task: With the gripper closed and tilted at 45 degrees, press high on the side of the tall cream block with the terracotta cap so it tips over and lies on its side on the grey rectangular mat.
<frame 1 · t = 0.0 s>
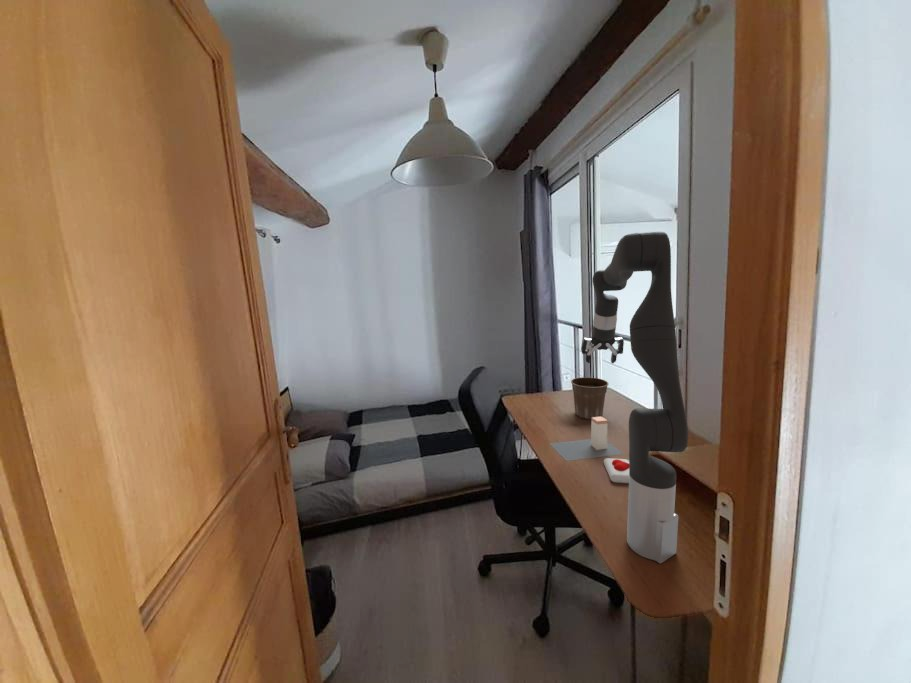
hand: (600, 362, 131), 31 cm above the table, tool tilted 20°, fingers open, 8 cm apart
cream block: (598, 446, 129), point 1 cm above the table, touching grey rectangular mat
grey rectangular mat: (585, 450, 129), on the table
icon: (623, 475, 112), on the table
plant pot: (588, 415, 162), on the table
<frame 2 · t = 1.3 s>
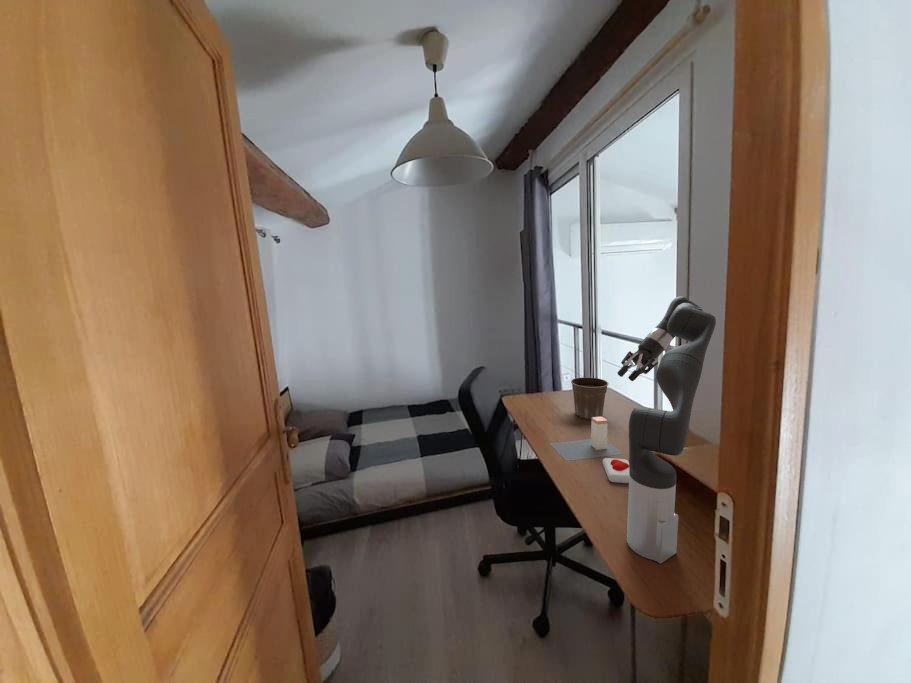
hand: (624, 377, 127), 27 cm above the table, tool tilted 45°, fingers open, 5 cm apart
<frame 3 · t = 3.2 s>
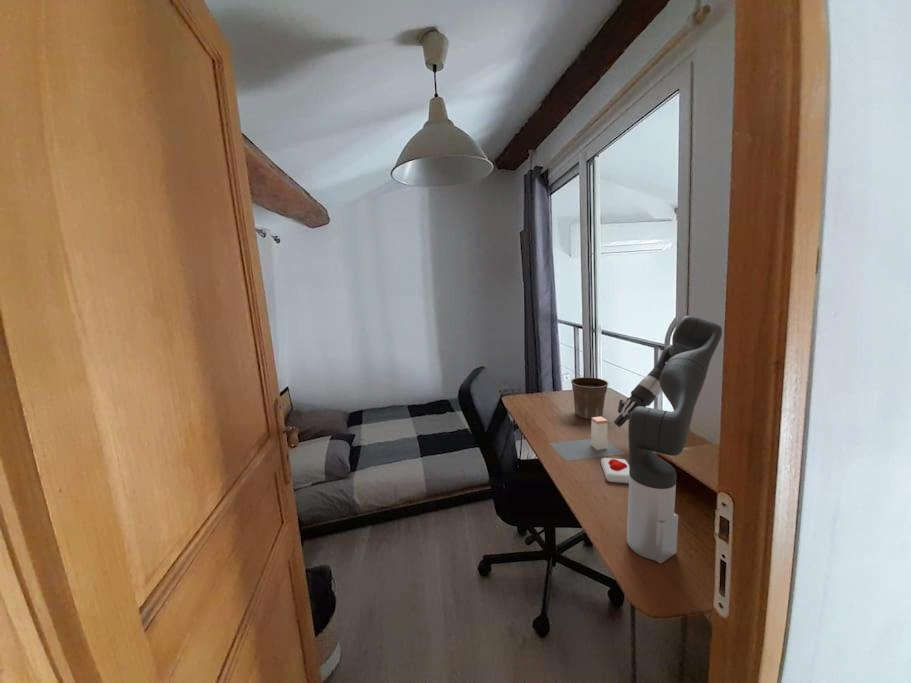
hand: (616, 425, 129), 8 cm above the table, tool tilted 45°, fingers closed
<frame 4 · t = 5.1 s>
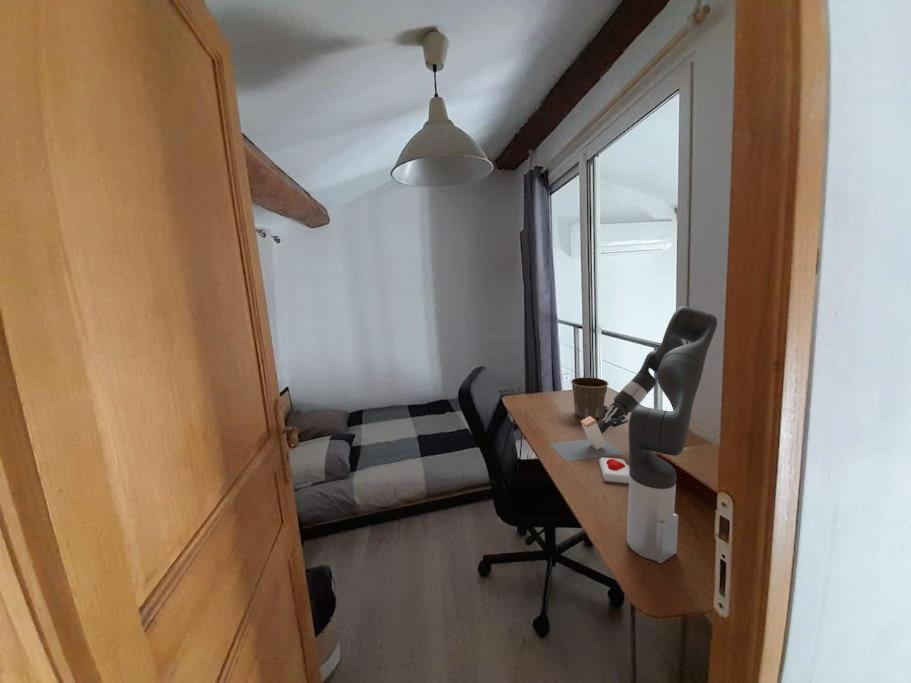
hand: (599, 431, 128), 7 cm above the table, tool tilted 45°, fingers closed
cream block: (598, 444, 129), point 1 cm above the table, tilted 24°, touching grey rectangular mat
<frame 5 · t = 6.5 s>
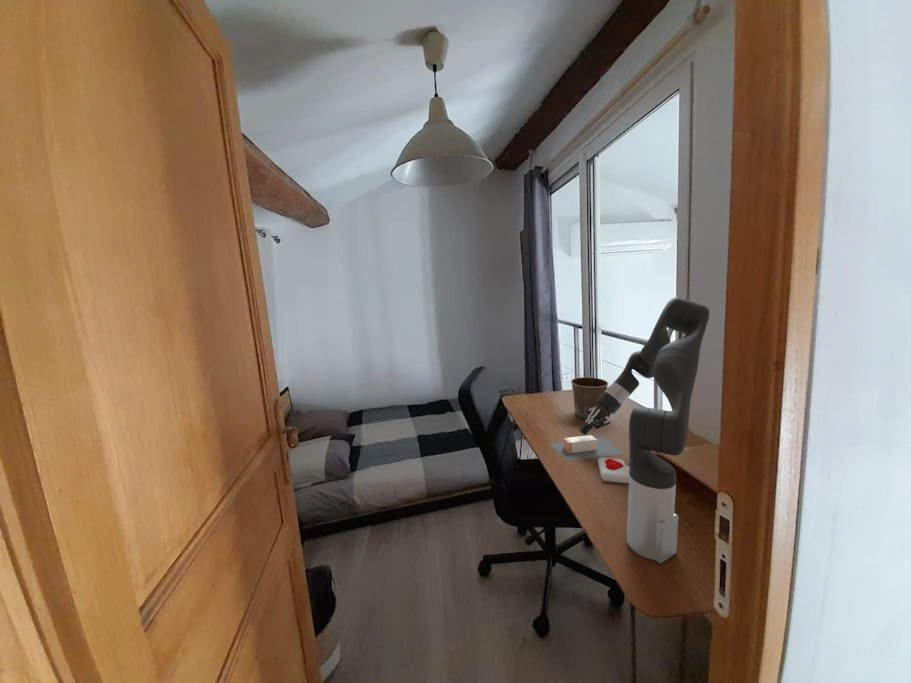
hand: (581, 432, 127), 7 cm above the table, tool tilted 45°, fingers closed
cream block: (593, 442, 129), point 3 cm above the table, tilted 90°, touching grey rectangular mat
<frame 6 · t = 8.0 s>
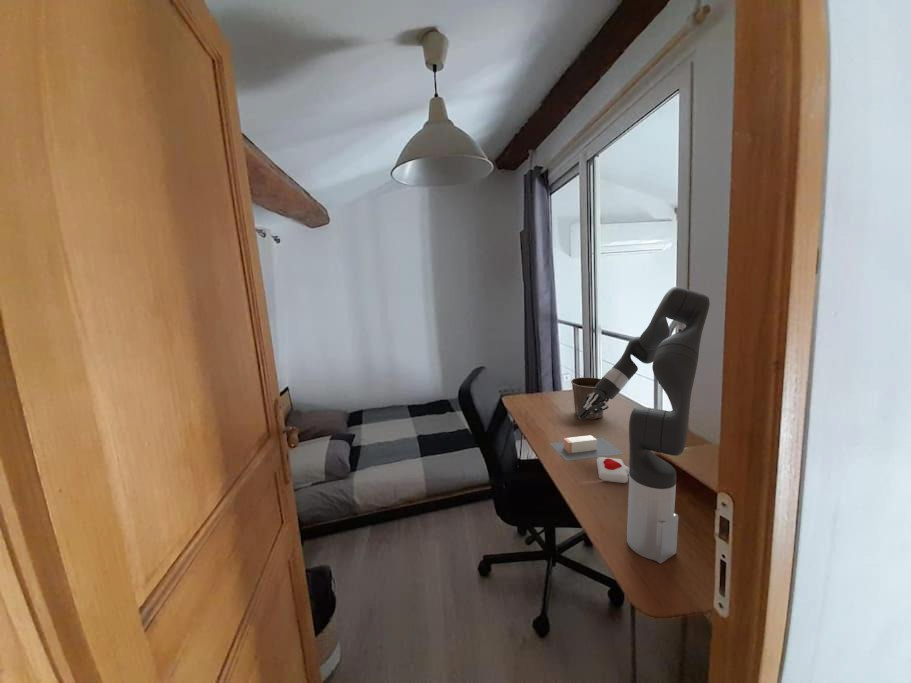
hand: (580, 418, 126), 13 cm above the table, tool tilted 45°, fingers closed
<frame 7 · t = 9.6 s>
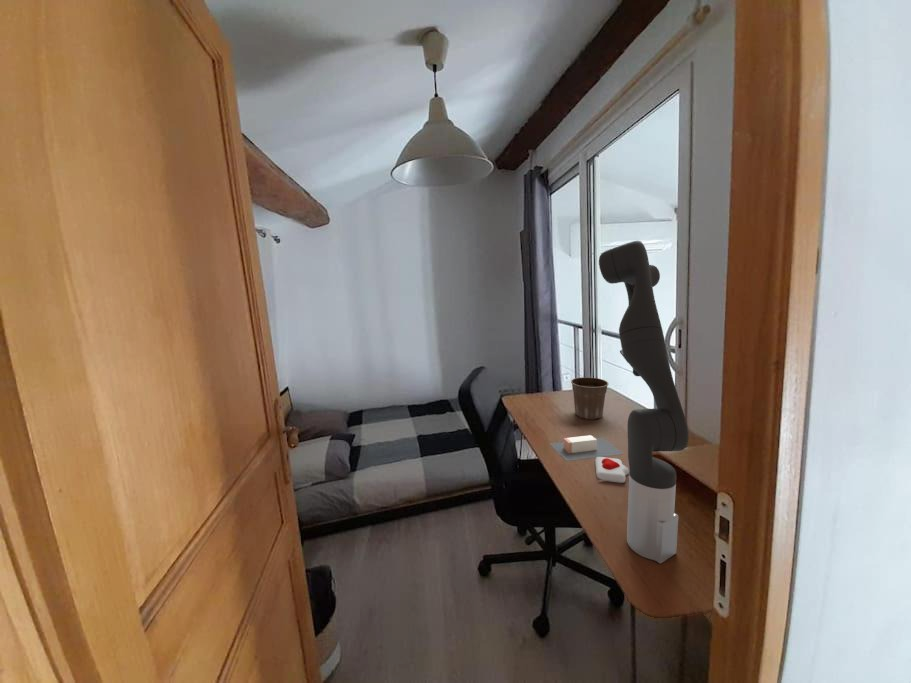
hand: (637, 375, 120), 29 cm above the table, tool pointing down, fingers closed
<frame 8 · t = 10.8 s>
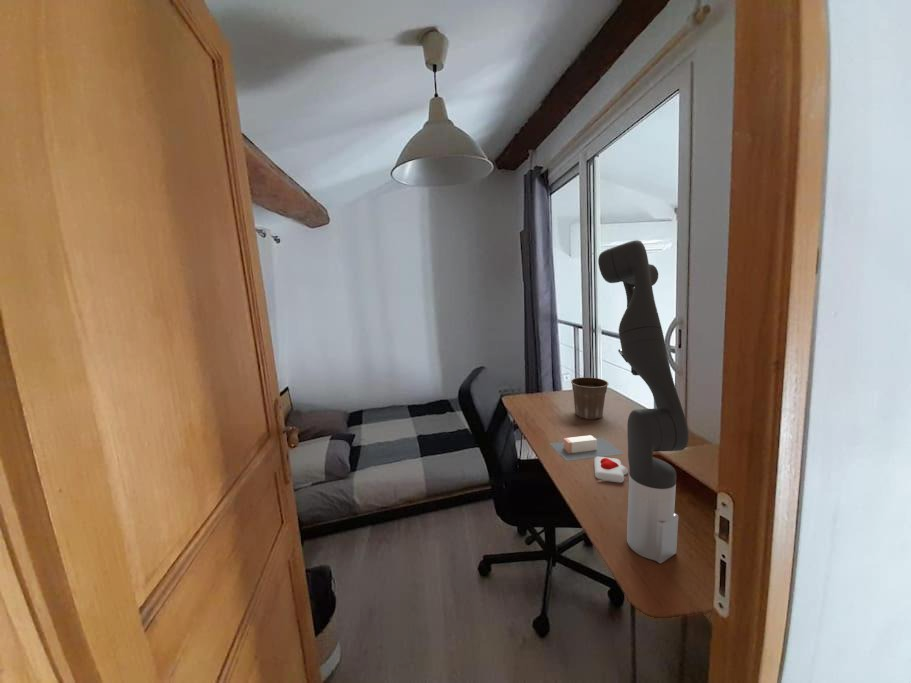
hand: (635, 374, 120), 29 cm above the table, tool pointing down, fingers closed
at the end: cream block tilted 90°; cream block touching grey rectangular mat; cream block 3.4 cm from the grey rectangular mat (horizontally) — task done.
